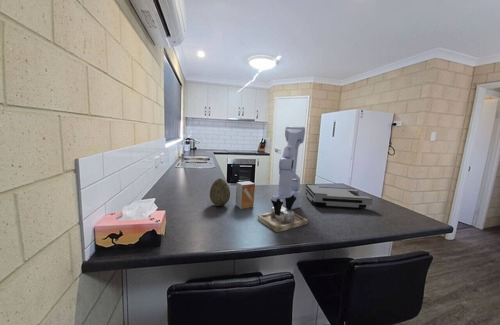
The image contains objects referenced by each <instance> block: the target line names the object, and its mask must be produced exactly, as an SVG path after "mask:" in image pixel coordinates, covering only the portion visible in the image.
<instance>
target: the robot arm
mask: <svg viewBox="0 0 500 325" xmlns="http://www.w3.org/2000/svg"><path fill="white" fill-rule="evenodd" d="M305 134H306V127H305V126H291V125H287V126H286V127H285V130H284V137H285V141H286V142H287V145H286V146H285V147H284V149H283V153H282V157H281V158H280V159H279V161H278V171H279V172H278V175H279V177H278V180H279V181H278V191H276V193H275V194H274V195H272V196H271V200H270V202H271V204H272V207H274V210H275V215H277V216H280V212H281V207H284V208H287V209H289V210H294V209H298V208H301V207H302V206H301V205H300V203H301V194H300V187H301V178H300V176H299V175H297V164H298V163H297V162H298V156H299V155H298V154H299V147H300V145H301V144H303V143H304V141H305ZM281 200H282V201H281Z"/></svg>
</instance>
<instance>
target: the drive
mask: <svg viewBox="0 0 500 325" xmlns="http://www.w3.org/2000/svg"><path fill="white" fill-rule="evenodd" d="M271 213H273V218H275V219H277V220H279V218H280V217H281V218H282V222H284V223H289V222H290V219H291V218H292V219H293V216H294V213H295V210H293V209H291V210H289V209H287V208H284V207H281V212H280V216H277V215H275V210H274V206H272V207H271Z"/></svg>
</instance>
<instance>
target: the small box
mask: <svg viewBox="0 0 500 325" xmlns="http://www.w3.org/2000/svg"><path fill="white" fill-rule="evenodd" d="M235 188H236V190H235V207H238V208H239V209H241V210H242V209H247V208H253V207H254V206H255V205H254V203H255V192H256V190H255V188H256V183H254V182H252V181H250V180H246V181H245V180H244V181H238V182H236V187H235Z"/></svg>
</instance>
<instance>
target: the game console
mask: <svg viewBox="0 0 500 325" xmlns="http://www.w3.org/2000/svg"><path fill="white" fill-rule="evenodd" d="M304 191H305V195H306V197H307V198H308V199H309V201H310V202H311V203H313V205H314V206H316V208H323V209H338V210H339V209H340V210H354V209H355V210H356V211H357V210H359V211H362V209H363V208H364V209H365V208H366V209H367V206H373V200H374V199H372V198H371V197H369V196H367V195H366V196H362V195H360V194H359V190H357V189H356V188H349V187H346V188H345V187H344V188H343V187H327V186H319V185H317V184H307V183H306V184H305V190H304Z"/></svg>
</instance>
